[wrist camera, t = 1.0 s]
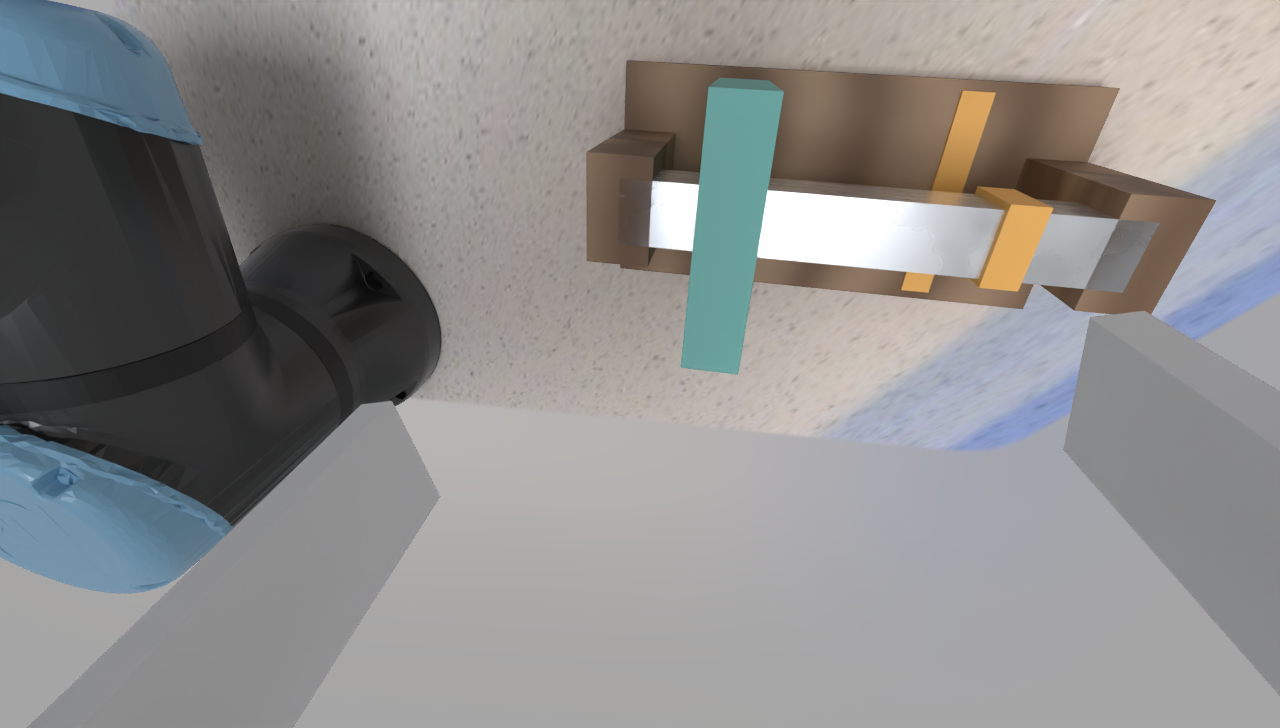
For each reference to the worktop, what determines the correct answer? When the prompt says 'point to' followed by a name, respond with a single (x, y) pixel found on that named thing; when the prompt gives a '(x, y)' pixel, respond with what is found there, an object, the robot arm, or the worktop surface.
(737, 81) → the teal square ring
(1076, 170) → the stand
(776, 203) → the grey square bar
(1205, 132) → the worktop surface
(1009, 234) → the pair of orange bands
